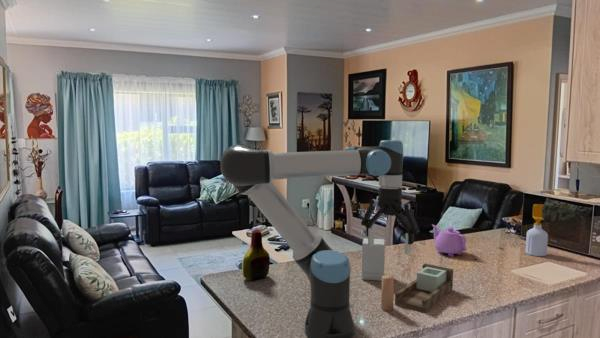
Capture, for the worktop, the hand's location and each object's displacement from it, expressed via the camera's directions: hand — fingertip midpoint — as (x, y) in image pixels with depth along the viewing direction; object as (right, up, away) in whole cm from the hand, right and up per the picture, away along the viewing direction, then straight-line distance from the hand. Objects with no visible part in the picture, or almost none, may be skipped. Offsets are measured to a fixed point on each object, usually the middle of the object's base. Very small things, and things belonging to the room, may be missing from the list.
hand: (388, 249), depth 151 cm
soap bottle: (+84, -14, +67) cm, 108 cm away
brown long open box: (+16, -19, +13) cm, 28 cm away
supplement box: (0, -17, +33) cm, 38 cm away
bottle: (-47, -17, +31) cm, 59 cm away
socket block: (+19, -17, +17) cm, 31 cm away
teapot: (+42, -14, +68) cm, 81 cm away
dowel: (0, -20, +2) cm, 20 cm away
